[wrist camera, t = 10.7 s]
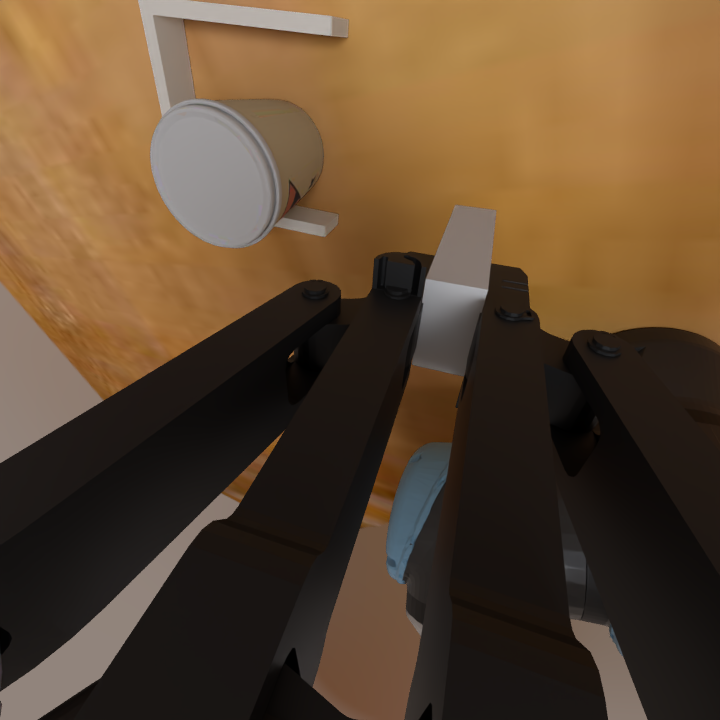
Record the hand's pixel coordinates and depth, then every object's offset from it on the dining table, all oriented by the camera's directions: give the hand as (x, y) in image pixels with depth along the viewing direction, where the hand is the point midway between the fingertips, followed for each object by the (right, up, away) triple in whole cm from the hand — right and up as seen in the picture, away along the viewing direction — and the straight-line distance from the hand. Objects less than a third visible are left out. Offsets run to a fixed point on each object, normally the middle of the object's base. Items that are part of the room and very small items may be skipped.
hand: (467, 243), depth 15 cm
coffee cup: (-11, +14, +20) cm, 27 cm away
